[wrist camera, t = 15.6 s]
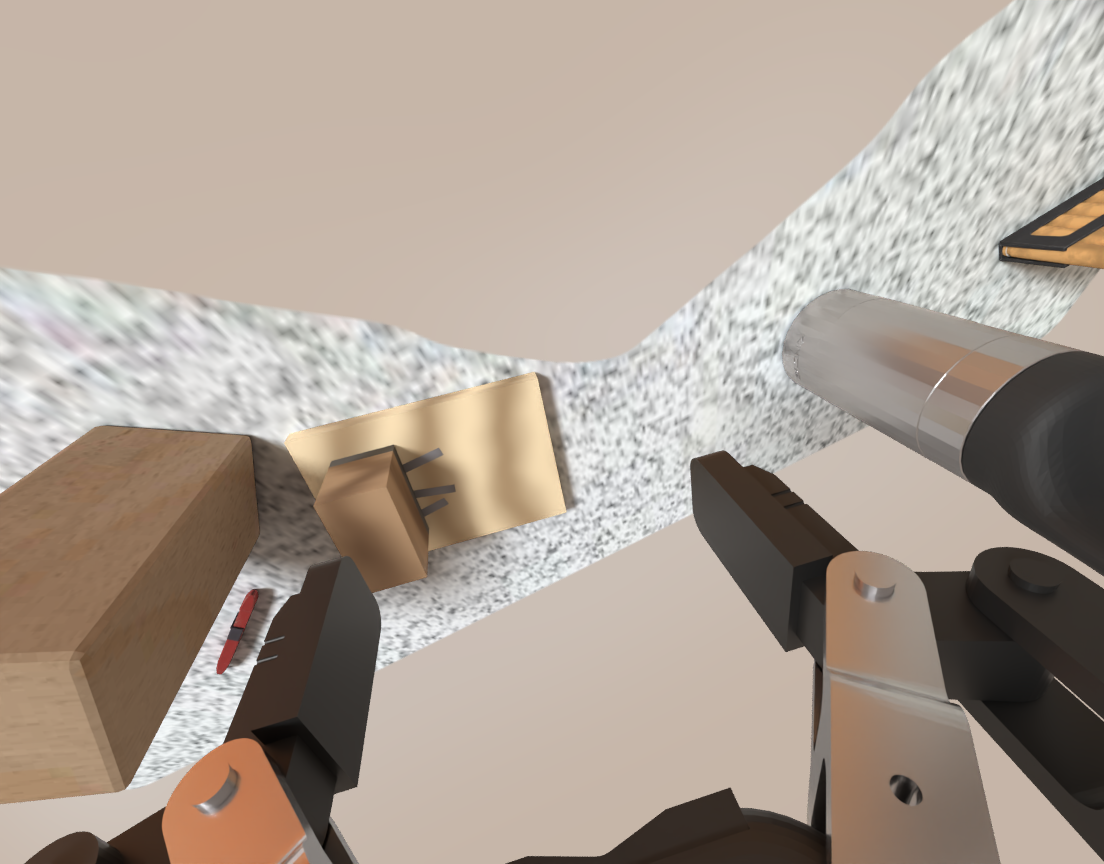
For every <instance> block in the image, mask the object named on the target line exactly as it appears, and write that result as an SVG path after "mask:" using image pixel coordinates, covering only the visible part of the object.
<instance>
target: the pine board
mask: <svg viewBox="0 0 1104 864" xmlns="http://www.w3.org/2000/svg"><path fill="white" fill-rule="evenodd" d="M284 444H285V445H286V447H287V449H288V451H289V453H290V454H291V456H292V458H293V460H294V462H295V463H296V465H297V467H298V469H299V471H300V472H301V474H302V476H303V478H304V480H305V481H306V483H307V485H308V487H309V489H310V490H311V492H312V494H313V496H314V498H315V499H316V498H317V496H318V493H319V491H320V488H321V486H322V483H323V481H324V478H325V476H326V473H327V471H328V468H329V466H330V463H331V461H333V460H337V459H341V458H345V457H348V456H352V455H356V454H360V453H364V452H367V451H371V450H375V449H379V448H383V447H387V446H390V445H394V446H395V448H396V451H397V453H398V455H399V458H400V460H401V462H402V465H403V467H404V470H405V472H406V474H407V477H408V479H409V482H410V484H411V486H412V489H413V491H414V493H415V496H416V498H417V501H418V503H419V505H420V508H421V510H422V513H423V515H424V517H425V520H426V522H427V524H428V527H429V544H428V551H431V550H434V549H438V548H441V547H445V546H449V545H452V544H456V543H459V542H463V541H466V540H470V539H473V538H477V537H481V536H484V535H488V534H491V533H495V532H498V531H502V530H505V529H509V528H512V527H516V526H520V525H523V524H527V523H530V522H534V521H537V520H541V519H544V518H548V517H552V516H555V515H559V514H562V513H566V508H565V503H564V498H563V494H562V489H561V484H560V480H559V475H558V471H557V466H556V461H555V457H554V452H553V447H552V443H551V438H550V434H549V429H548V424H547V420H546V415H545V410H544V406H543V401H542V397H541V392H540V387H539V383H538V378H537V376H536V374H535V372H532V373H528V374H524V375H520V376H516V377H512V378H508V379H504V380H500V381H496V382H492V383H488V384H485V385H481V386H477V387H473V388H469V389H465V390H461V391H457V392H453V393H449V394H445V395H441V396H437V397H433V398H429V399H425V400H421V401H417V402H413V403H409V404H406V405H402V406H398V407H394V408H390V409H386V410H382V411H378V412H374V413H370V414H366V415H362V416H358V417H354V418H350V419H346V420H342V421H338V422H334V423H330V424H326V425H323V426H319V427H315V428H311V429H307V430H303V431H299V432H295V433H291V434H289V436H288V437H287V439H286V441H285V442H284Z"/></svg>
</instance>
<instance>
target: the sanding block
mask: <svg viewBox="0 0 1104 864" xmlns="http://www.w3.org/2000/svg"><path fill="white" fill-rule="evenodd" d="M313 507H314V508H315V510H316V512H317V514H318V516H319V517H320V519H321V521H322V523H323V524H324V526H325V528H326V530H327V531H328V533H329V535H330V537H331V538H332V540H333V542H334V544H335V546H336V547H337V549H338V551H339V553H340V554H341V556H342V557H344V556H349V557H350V558H352V560H353V561H354V563H355V564H356V566H357V568H358V570H359V571H360V573H361V575H362V577H363V578H364V580H365V582H366V584H367V585H368V587H369V589H370V591H371V592H372V593H374V592H377V591H381V590H384V589H388V588H391V587H395V586H398V585H402V584H405V583H409V582H412V581H415V580H419V579H422V578H426V577H427V568H428V544H429V527H428V524H427V522H426V520H425V517H424V515H423V513H422V510H421V508H420V505H419V503H418V501H417V498H416V496H415V493H414V491H413V489H412V486H411V484H410V482H409V479H408V477H407V474H406V472H405V470H404V467H403V465H402V462H401V460H400V458H399V455H398V453H397V451H396V448H395V446H394V445H390V446H387V447H383V448H379V449H375V450H371V451H367V452H364V453H360V454H356V455H352V456H348V457H345V458H341V459H337V460H333V461H331V463H330V466H329V468H328V471H327V473H326V476H325V478H324V481H323V483H322V486H321V488H320V491H319V493H318V496H317V498H316V501H315V503H314V506H313Z"/></svg>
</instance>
